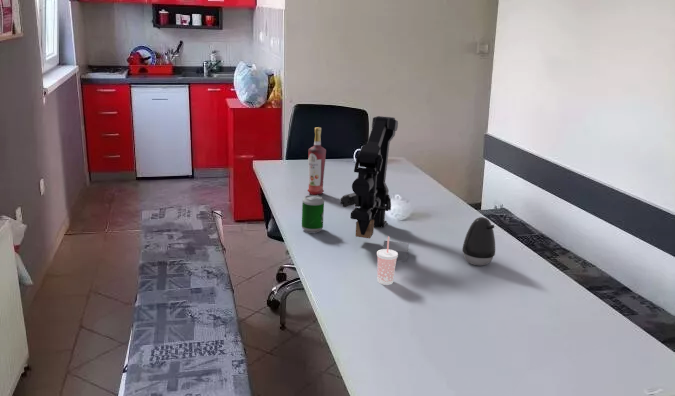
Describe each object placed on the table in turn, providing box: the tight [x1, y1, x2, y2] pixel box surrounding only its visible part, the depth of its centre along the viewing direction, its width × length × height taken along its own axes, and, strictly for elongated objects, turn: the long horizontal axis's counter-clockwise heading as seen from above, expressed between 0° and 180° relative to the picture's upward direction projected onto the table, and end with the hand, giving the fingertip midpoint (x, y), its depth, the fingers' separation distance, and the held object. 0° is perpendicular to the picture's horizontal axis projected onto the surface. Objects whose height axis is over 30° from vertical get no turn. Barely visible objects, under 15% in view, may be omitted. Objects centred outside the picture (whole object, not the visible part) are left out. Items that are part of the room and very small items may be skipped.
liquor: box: [307, 126, 327, 196], centre depth 260 cm, size 7×7×28 cm
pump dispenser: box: [461, 216, 496, 267], centre depth 199 cm, size 10×10×15 cm
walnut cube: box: [355, 219, 375, 239], centre depth 212 cm, size 5×5×5 cm
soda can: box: [301, 194, 325, 234], centre depth 221 cm, size 8×8×12 cm
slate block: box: [382, 240, 410, 262], centre depth 203 cm, size 8×8×4 cm
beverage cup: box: [376, 235, 398, 286], centre depth 182 cm, size 6×6×14 cm
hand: (364, 232), depth 212 cm, fingers closed on walnut cube, 5 cm apart
